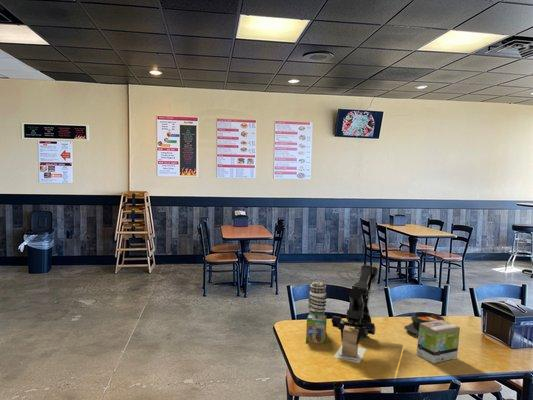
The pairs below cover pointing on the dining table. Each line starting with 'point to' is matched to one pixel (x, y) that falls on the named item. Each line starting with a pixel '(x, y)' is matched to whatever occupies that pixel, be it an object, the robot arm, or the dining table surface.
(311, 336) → the chalk box
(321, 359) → the dining table surface
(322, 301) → the leaning tower model
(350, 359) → the board
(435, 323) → the tea box
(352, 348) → the block
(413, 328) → the casserole
